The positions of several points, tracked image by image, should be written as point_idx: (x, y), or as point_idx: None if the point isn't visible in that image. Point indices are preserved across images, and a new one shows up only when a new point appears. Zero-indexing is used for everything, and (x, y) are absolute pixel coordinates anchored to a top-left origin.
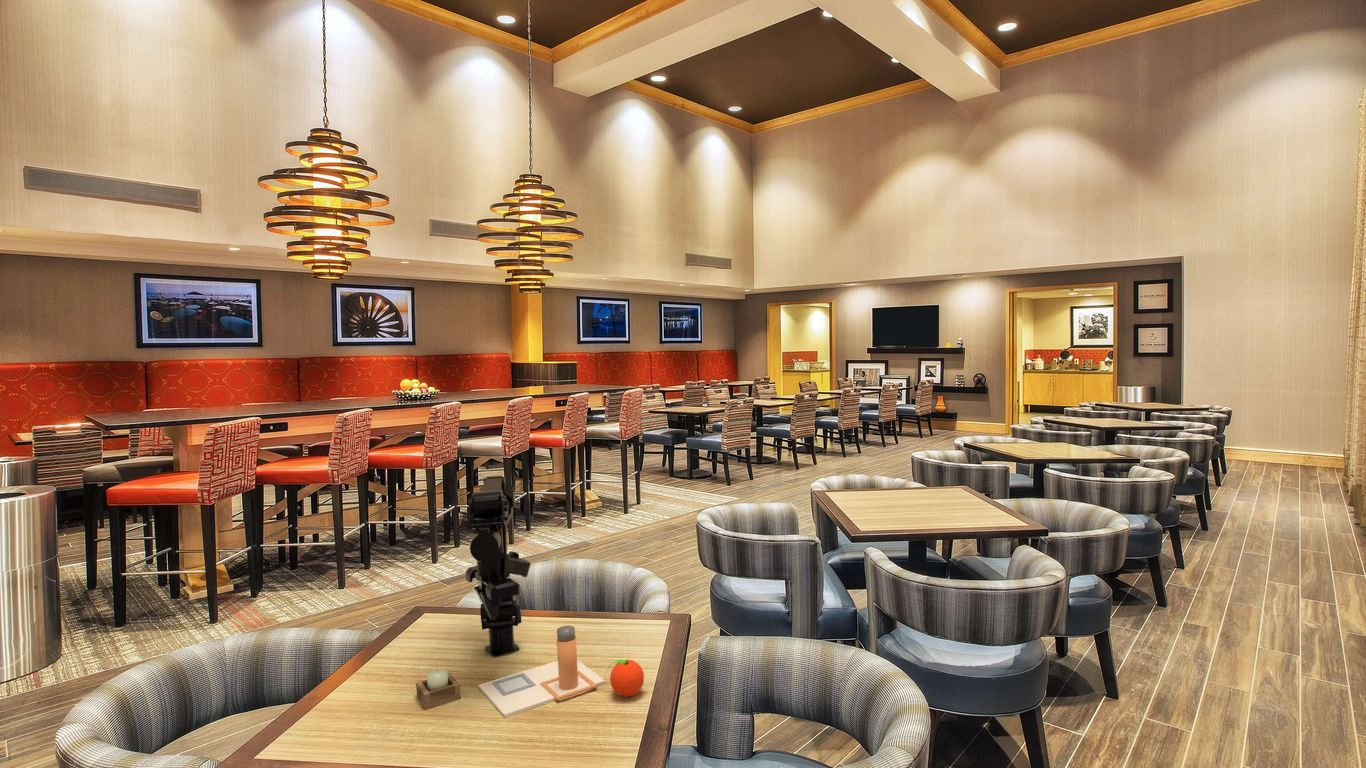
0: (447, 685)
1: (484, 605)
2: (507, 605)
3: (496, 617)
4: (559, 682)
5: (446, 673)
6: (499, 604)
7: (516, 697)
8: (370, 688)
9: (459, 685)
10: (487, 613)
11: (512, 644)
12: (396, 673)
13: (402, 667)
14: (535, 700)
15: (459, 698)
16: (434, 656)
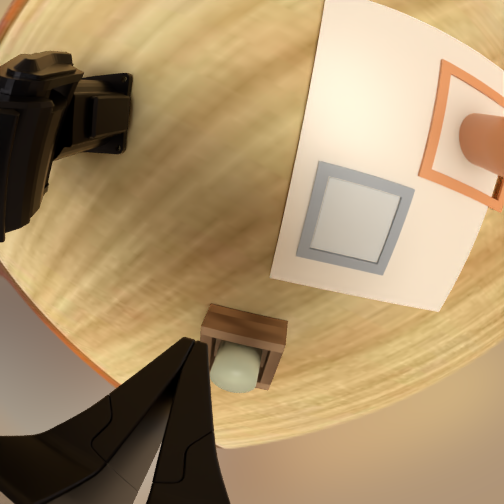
0: (254, 349)
1: (155, 450)
2: (13, 138)
3: (208, 353)
4: (481, 167)
5: (250, 373)
6: (213, 440)
7: (415, 258)
8: (127, 360)
9: (285, 344)
10: (22, 215)
11: (119, 96)
12: (92, 318)
13: (75, 301)
14: (462, 241)
15: (287, 323)
16: (55, 245)
